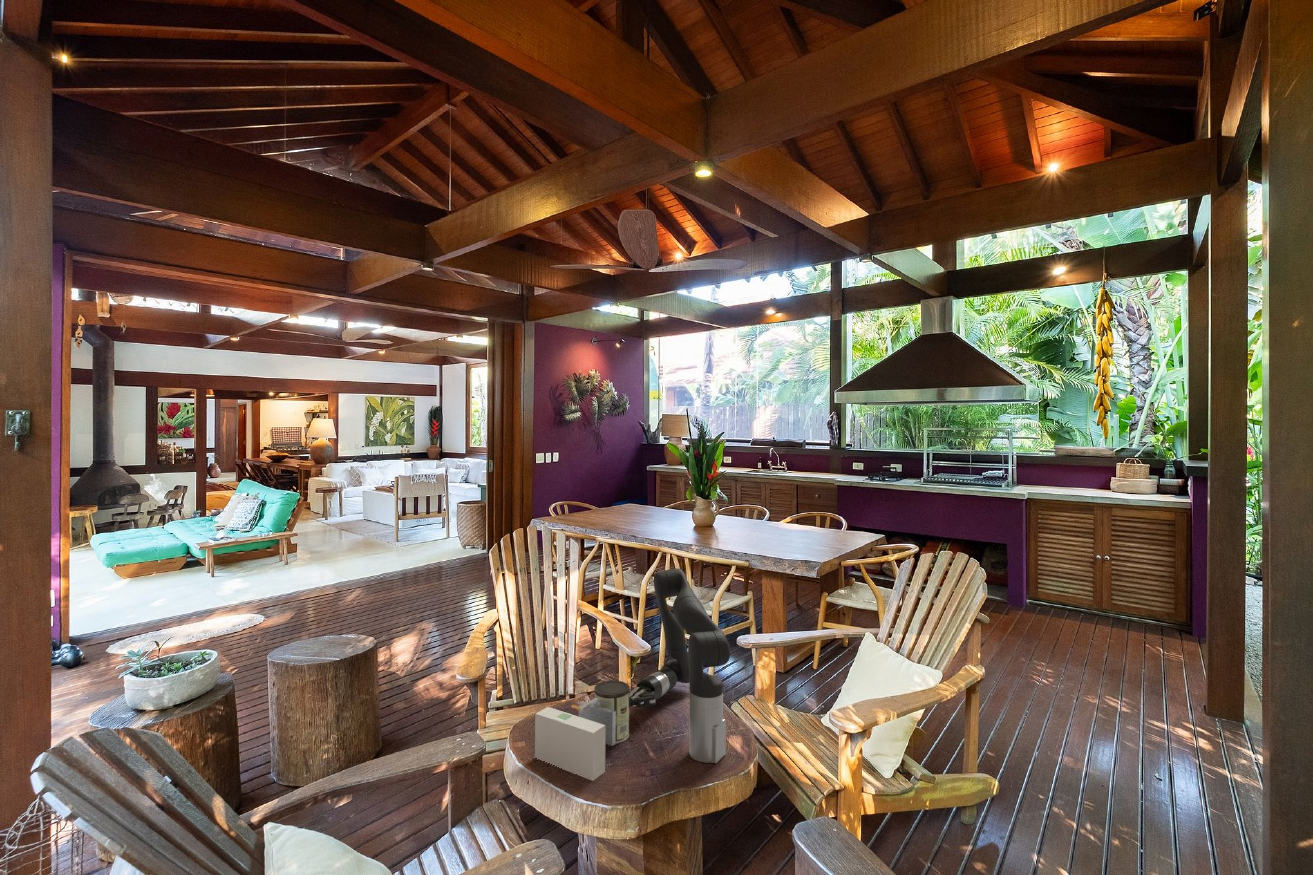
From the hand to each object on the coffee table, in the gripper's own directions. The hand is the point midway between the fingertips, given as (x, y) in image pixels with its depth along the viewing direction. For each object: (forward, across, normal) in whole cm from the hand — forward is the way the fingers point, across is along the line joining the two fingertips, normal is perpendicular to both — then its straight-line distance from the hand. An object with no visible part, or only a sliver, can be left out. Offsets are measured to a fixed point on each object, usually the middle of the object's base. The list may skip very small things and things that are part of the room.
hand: (622, 706), depth 176 cm
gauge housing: (+24, 0, +7) cm, 25 cm away
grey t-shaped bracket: (+15, 0, +5) cm, 16 cm away
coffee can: (+5, 0, +7) cm, 8 cm away
